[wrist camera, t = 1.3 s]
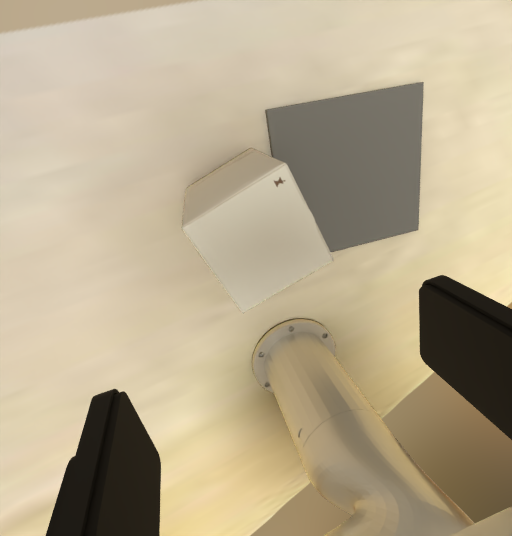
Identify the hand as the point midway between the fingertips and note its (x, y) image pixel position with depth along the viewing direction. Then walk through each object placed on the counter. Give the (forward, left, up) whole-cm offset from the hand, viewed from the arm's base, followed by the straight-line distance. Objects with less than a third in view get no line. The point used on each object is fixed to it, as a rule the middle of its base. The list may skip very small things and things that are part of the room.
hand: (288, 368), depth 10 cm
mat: (-1, -18, -30) cm, 35 cm away
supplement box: (-1, -4, -30) cm, 30 cm away
